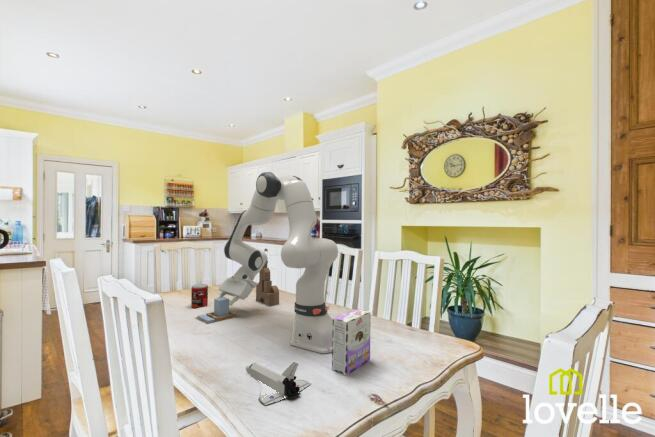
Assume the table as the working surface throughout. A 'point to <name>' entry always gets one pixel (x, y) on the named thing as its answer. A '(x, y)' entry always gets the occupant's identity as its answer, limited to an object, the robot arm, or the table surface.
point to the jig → (217, 319)
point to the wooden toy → (266, 288)
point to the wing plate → (206, 318)
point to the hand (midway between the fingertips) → (223, 302)
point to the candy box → (350, 341)
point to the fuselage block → (221, 307)
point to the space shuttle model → (277, 382)
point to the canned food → (199, 295)
